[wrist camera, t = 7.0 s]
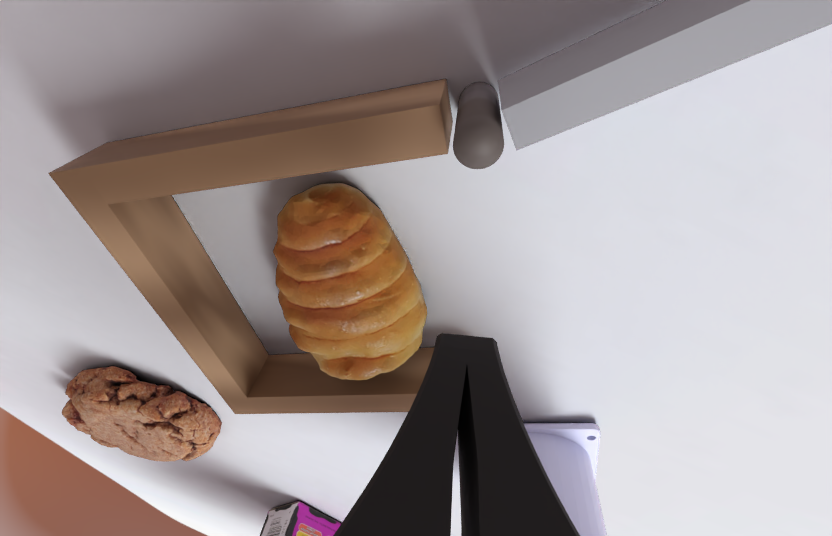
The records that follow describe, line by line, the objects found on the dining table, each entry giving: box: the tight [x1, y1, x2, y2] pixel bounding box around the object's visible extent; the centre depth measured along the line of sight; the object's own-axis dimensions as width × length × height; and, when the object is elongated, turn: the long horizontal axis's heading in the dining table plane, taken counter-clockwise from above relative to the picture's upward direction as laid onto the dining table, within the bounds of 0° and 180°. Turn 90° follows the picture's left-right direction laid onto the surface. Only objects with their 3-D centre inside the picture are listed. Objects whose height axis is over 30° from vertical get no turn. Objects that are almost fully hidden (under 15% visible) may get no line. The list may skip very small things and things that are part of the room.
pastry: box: [273, 183, 427, 380], centre depth 19 cm, size 9×7×4 cm
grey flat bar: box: [498, 0, 832, 150], centre depth 10 cm, size 13×1×3 cm, turn 117°
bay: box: [48, 79, 504, 414], centre depth 18 cm, size 15×16×4 cm
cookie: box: [62, 366, 222, 461], centre depth 30 cm, size 10×11×3 cm
